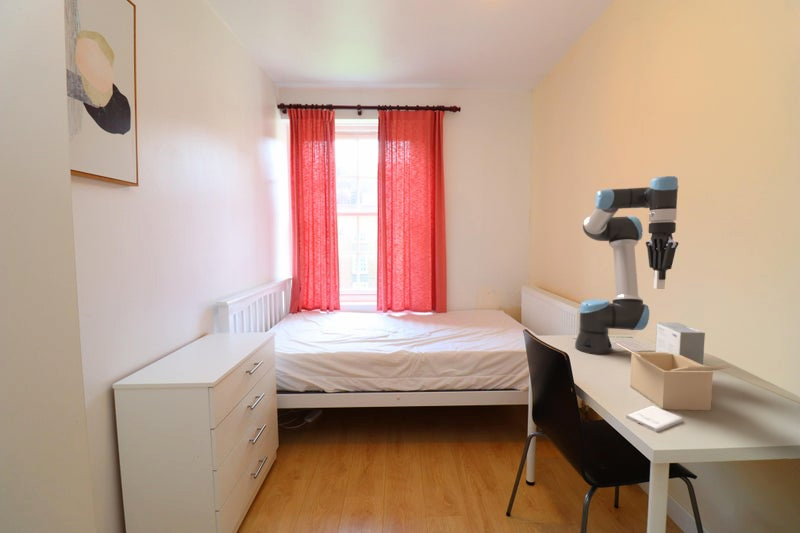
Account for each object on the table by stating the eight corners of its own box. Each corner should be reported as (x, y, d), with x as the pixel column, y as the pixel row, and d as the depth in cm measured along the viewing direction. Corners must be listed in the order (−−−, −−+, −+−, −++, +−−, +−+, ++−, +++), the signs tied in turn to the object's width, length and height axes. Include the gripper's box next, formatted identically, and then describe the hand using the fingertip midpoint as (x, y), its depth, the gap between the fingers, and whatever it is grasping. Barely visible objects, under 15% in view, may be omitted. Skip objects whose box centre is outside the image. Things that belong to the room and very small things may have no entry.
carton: (629, 385, 119) (630, 352, 118) (672, 386, 118) (674, 352, 117) (662, 409, 103) (664, 370, 102) (713, 410, 102) (715, 370, 101)
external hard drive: (682, 423, 96) (656, 434, 91) (651, 410, 104) (625, 419, 99) (683, 417, 96) (656, 428, 91) (652, 405, 104) (625, 414, 99)
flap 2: (688, 366, 94) (688, 367, 94) (730, 366, 94) (730, 367, 94) (670, 369, 101) (670, 370, 101) (709, 370, 100) (710, 371, 100)
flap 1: (632, 352, 116) (632, 353, 116) (616, 342, 116) (615, 343, 116) (659, 367, 103) (658, 368, 103) (641, 356, 103) (640, 356, 103)
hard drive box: (702, 390, 115) (706, 333, 113) (677, 388, 117) (680, 332, 115) (675, 372, 130) (678, 322, 129) (653, 371, 132) (655, 321, 130)
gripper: (638, 223, 124) (636, 286, 126) (664, 221, 111) (661, 291, 113) (660, 222, 123) (657, 285, 125) (688, 220, 110) (684, 291, 112)
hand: (659, 288), depth 119 cm, fingers closed
